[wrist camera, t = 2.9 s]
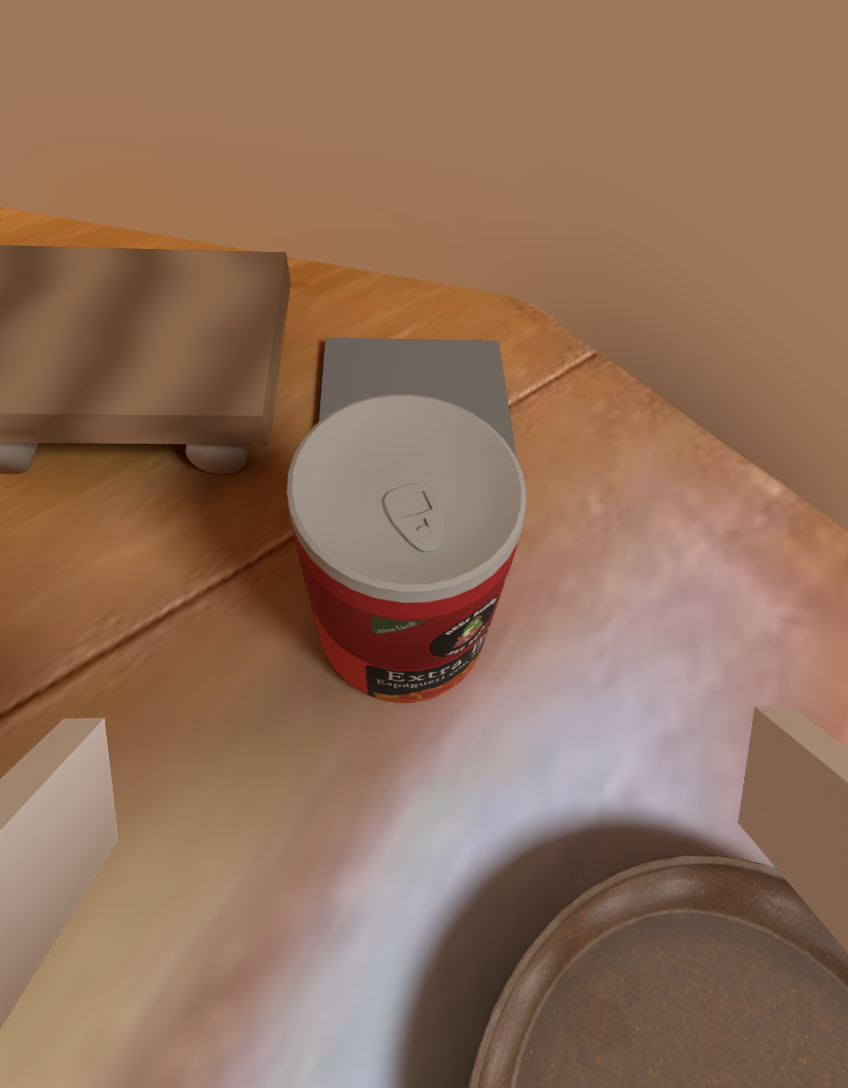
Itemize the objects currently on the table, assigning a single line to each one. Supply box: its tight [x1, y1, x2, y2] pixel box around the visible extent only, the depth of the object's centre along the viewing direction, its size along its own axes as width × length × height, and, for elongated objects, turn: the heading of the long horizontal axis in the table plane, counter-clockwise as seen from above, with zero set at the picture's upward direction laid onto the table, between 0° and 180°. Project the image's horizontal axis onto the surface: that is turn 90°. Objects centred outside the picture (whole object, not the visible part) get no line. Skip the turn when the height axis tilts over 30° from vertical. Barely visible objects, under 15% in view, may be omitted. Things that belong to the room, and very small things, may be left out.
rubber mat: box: [319, 338, 516, 457], centre depth 35 cm, size 11×11×1 cm
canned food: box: [287, 394, 526, 703], centre depth 24 cm, size 8×8×11 cm
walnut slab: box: [0, 245, 291, 474], centre depth 33 cm, size 17×13×5 cm
